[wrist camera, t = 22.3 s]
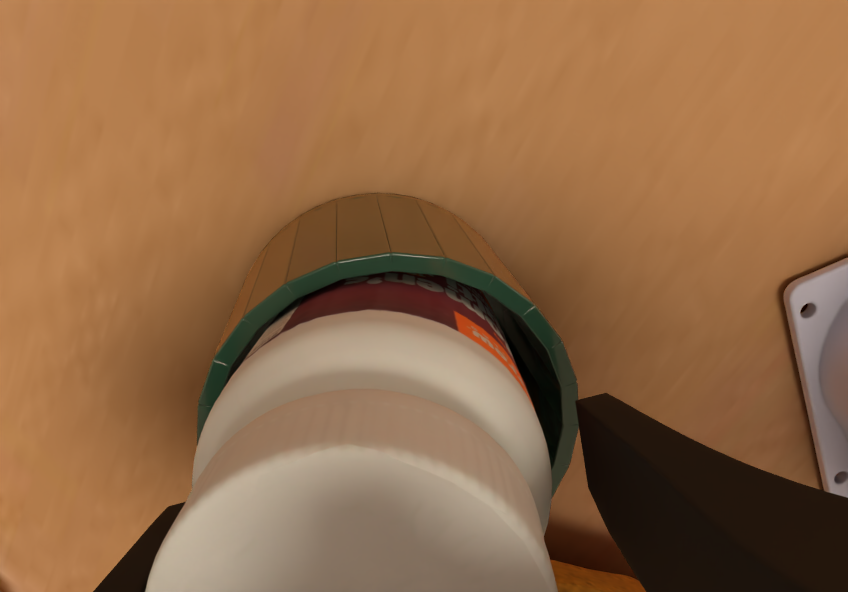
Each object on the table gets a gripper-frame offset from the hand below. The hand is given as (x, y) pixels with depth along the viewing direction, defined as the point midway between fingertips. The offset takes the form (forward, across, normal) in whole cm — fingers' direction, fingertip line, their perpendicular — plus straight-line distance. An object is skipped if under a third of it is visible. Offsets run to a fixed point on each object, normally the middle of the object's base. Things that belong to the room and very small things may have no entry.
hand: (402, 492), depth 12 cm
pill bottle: (+7, 0, 0) cm, 7 cm away
